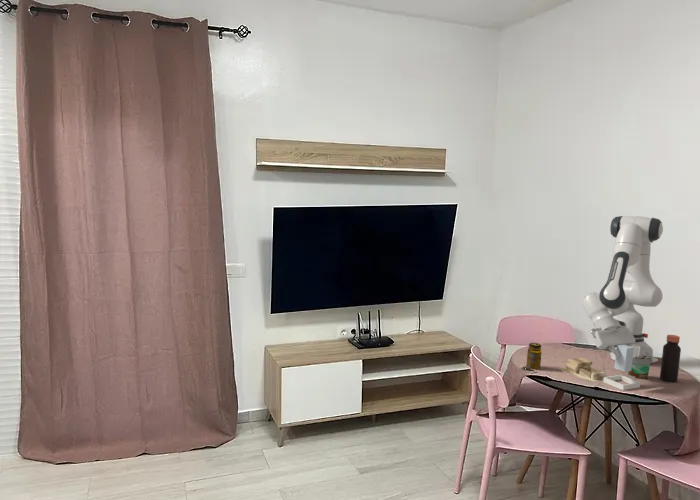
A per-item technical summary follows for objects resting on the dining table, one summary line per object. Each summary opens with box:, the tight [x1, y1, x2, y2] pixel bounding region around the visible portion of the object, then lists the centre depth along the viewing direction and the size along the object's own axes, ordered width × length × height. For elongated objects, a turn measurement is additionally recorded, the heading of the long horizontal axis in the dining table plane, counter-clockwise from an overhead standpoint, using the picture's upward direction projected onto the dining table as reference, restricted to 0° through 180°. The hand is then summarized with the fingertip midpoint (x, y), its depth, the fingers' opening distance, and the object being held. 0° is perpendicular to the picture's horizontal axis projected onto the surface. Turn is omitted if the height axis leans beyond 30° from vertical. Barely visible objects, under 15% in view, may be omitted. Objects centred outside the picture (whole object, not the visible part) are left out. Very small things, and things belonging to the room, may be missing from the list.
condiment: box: [519, 342, 542, 374], centre depth 262 cm, size 7×8×12 cm
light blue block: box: [614, 345, 634, 373], centre depth 243 cm, size 4×5×10 cm
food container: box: [627, 354, 653, 381], centre depth 255 cm, size 12×6×10 cm, turn 117°
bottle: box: [659, 334, 682, 383], centre depth 254 cm, size 7×7×20 cm
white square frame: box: [602, 374, 641, 391], centre depth 245 cm, size 10×10×3 cm
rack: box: [558, 366, 609, 383], centre depth 257 cm, size 14×18×4 cm
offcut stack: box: [564, 357, 593, 373], centre depth 261 cm, size 10×6×4 cm, turn 114°
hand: (623, 355), depth 243 cm, fingers closed on light blue block, 4 cm apart
